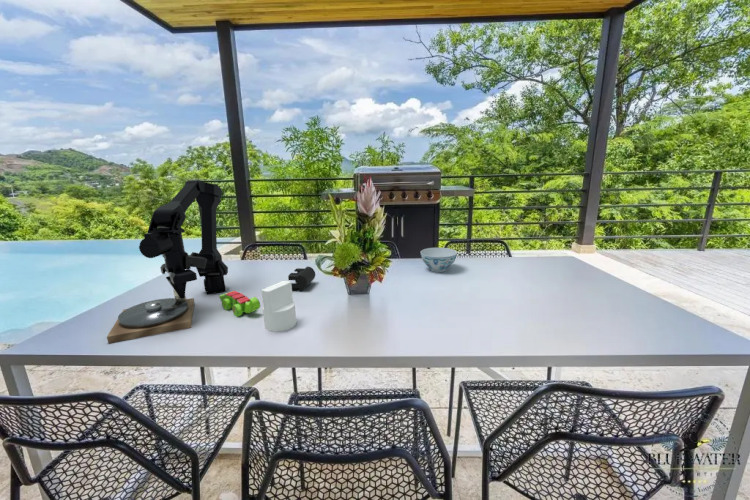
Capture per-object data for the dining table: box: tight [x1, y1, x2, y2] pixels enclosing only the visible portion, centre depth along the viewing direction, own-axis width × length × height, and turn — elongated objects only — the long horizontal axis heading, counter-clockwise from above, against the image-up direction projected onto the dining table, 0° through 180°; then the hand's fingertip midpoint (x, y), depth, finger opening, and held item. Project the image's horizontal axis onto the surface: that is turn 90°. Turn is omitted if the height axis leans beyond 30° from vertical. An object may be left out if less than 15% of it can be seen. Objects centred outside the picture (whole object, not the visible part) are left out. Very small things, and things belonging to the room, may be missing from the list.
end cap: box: [287, 266, 316, 292], centre depth 132 cm, size 10×7×7 cm
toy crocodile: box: [218, 290, 261, 318], centre depth 113 cm, size 20×7×6 cm, turn 47°
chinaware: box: [420, 247, 458, 273], centre depth 147 cm, size 15×15×8 cm
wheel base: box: [106, 297, 195, 345], centre depth 107 cm, size 20×20×2 cm
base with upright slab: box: [260, 280, 297, 333], centre depth 101 cm, size 9×9×12 cm
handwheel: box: [117, 289, 188, 328], centre depth 106 cm, size 18×18×6 cm
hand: (182, 298), depth 110 cm, fingers closed
